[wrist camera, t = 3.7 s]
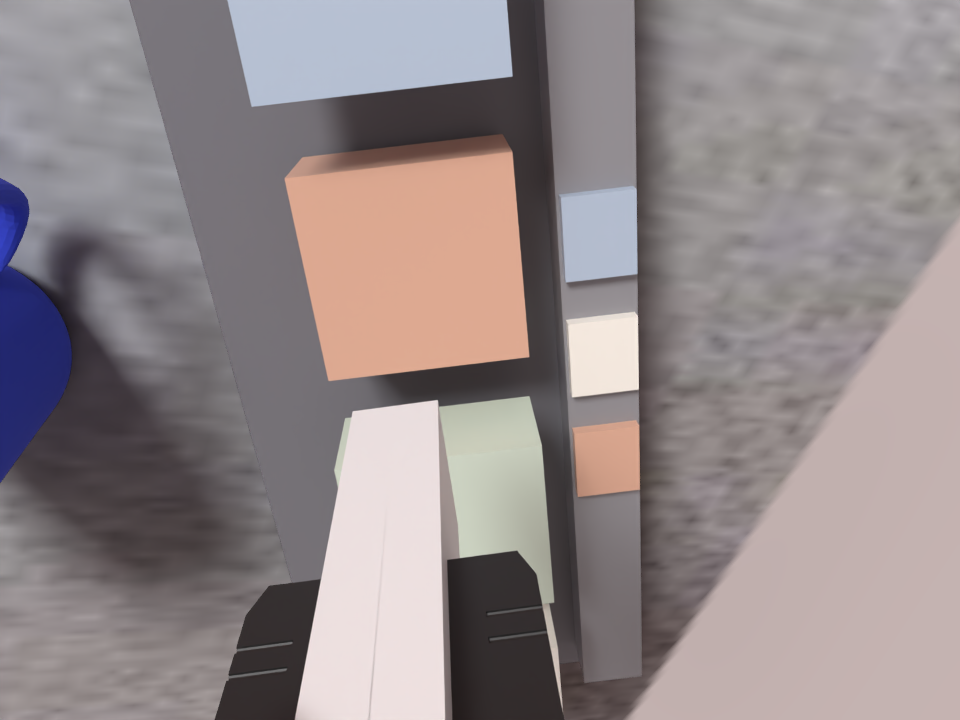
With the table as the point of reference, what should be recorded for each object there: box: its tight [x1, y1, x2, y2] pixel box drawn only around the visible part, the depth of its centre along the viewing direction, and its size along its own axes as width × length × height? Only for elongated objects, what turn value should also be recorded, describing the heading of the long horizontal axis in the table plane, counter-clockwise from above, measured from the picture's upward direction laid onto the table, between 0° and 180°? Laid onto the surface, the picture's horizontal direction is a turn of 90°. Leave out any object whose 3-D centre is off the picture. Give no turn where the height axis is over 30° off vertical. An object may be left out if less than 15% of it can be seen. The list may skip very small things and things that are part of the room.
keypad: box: [129, 0, 642, 683], centre depth 26 cm, size 14×32×4 cm, turn 6°
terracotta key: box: [284, 134, 529, 381], centre depth 22 cm, size 6×6×3 cm
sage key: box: [334, 396, 554, 604], centre depth 24 cm, size 6×6×3 cm
